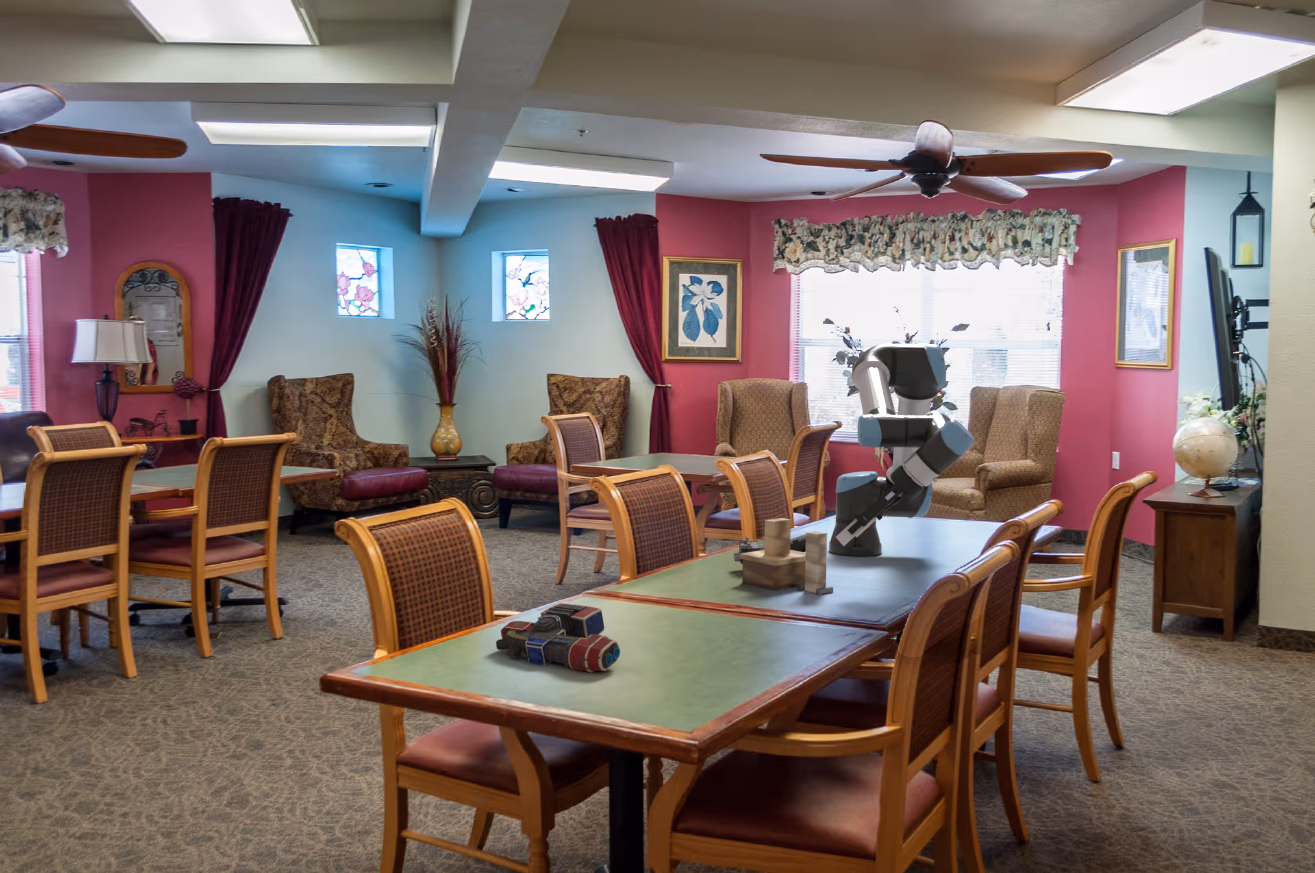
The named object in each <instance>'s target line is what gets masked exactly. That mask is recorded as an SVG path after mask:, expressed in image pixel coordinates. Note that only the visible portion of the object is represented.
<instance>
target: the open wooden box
mask: <svg viewBox="0 0 1315 873" xmlns="http://www.w3.org/2000/svg"><path fill="white" fill-rule="evenodd" d="M741 570H742V572H741V573H742V574H741V575H742V577H741V578H742V579H741V581H742V583H743V584H746V583H747V584H746V585H750V586H755V585H756V586H755V587H760V588H763V587H765V588H764V589H768V590H772V591H778V590H783V589H782V588H784V589H788V588H787V587H789V588H793V587H792V584H805V561H802V562H796V563H790V564H784V565H778V566H774V565H769V564H764V563H759V562H754V561H750V560H745V559H743V564H742V569H741Z"/></svg>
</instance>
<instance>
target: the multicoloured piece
mask: <svg viewBox="0 0 1315 873" xmlns="http://www.w3.org/2000/svg"><path fill="white" fill-rule="evenodd" d="M604 631H605V623H604V616H603V612H602V608H599V607H594V606H587V605H579V604H570V603H562V602H561V603H560V602H559V603H557V604H555V605H552V606H550V607H548V608H546V609H544V610H542V611H541V612H540V616H538V617H537V621H535V622H532V621H523V620H513V621H510V622H508V623H507V624H506V625H505V626H503V627H502V628H501V629H500V635H501V638H500V639H497V640H496V641H495V646H496V650H498V651H501V650H506V654H507V656H508V657H509V658H512V659H513V658H515V657H518V658H521V659H522V658H523V659H527V660H528V662H529V663H534V664H539V665H543V666H544V665H545V666H546V665H548V664H550V663H552V662H556V663H557V664H558V663H560V664H564V667H565V668H567V669H568V668H569V669H571V670H573V671H580V672H587V673H590V674H591V673H593V672H600V671H601V672H605V671H606V672H607V670H608V669H610V668H611V667H612V666H613V665H614V664H615V663H616V662H617V661H618V660H619V658H620V656H621V649H620V645H619V643H618V642H617V641H616V640H614V639H611V638H609V637H608V636H606V635H602V633H603V632H604Z"/></svg>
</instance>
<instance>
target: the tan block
mask: <svg viewBox="0 0 1315 873" xmlns="http://www.w3.org/2000/svg"><path fill="white" fill-rule="evenodd" d="M805 534H806V552H805V553H806V557H805V590H804V591H805V592H809V593H812V592H813V593H812V594H816V589H819V588H824V587H827V561H828V560H827V552H828V551H827V550H828V548H827V547H828V546H827V545H828V532H822V531H809V532H808V531H807V532H805Z"/></svg>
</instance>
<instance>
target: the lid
mask: <svg viewBox="0 0 1315 873" xmlns="http://www.w3.org/2000/svg"><path fill="white" fill-rule="evenodd" d="M791 522H792V521H791V519H790V518H789V519H788V518H784V517H780V518H772V519H765V520H764V544H765V548H764V550H761V551H754V552H747V553H741V554H740V559H745V560H750V561H754V562H759V563H764V564H769V565H774V566H778V565H784V564H790V563H796V562H802V561H805V557H806V552H799V551H794V550H790V539H791Z"/></svg>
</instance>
